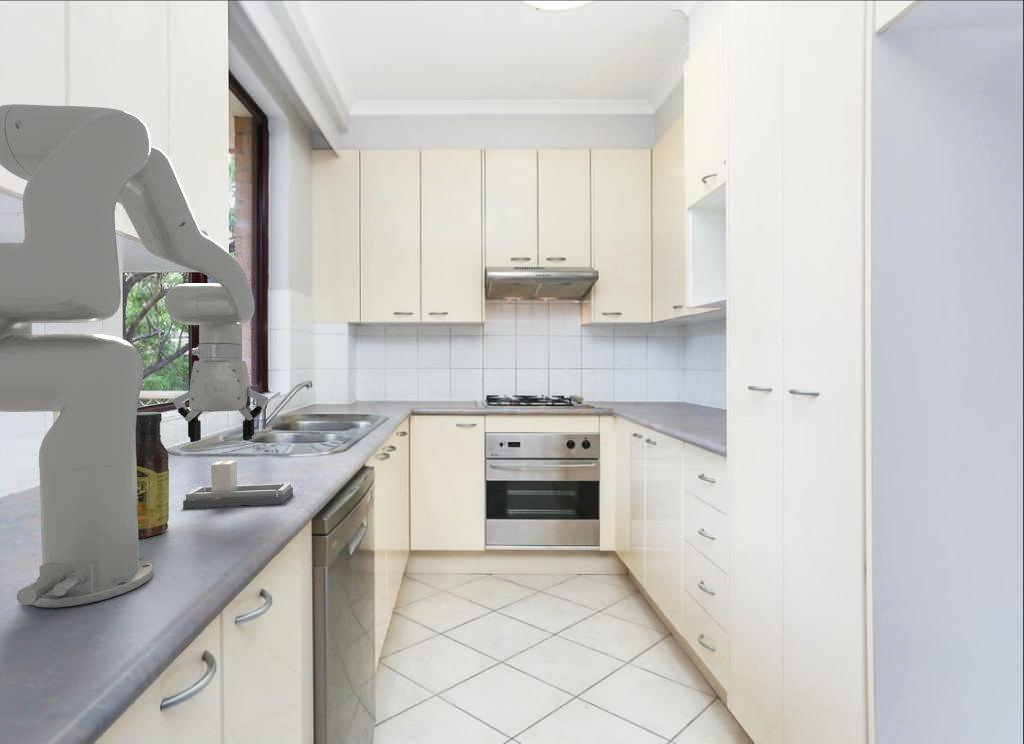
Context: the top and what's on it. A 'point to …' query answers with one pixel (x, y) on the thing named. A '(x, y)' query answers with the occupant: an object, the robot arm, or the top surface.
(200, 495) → the grey shallow tray
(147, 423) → the sauce bottle
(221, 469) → the fader cap
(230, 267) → the robot arm
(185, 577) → the top surface
